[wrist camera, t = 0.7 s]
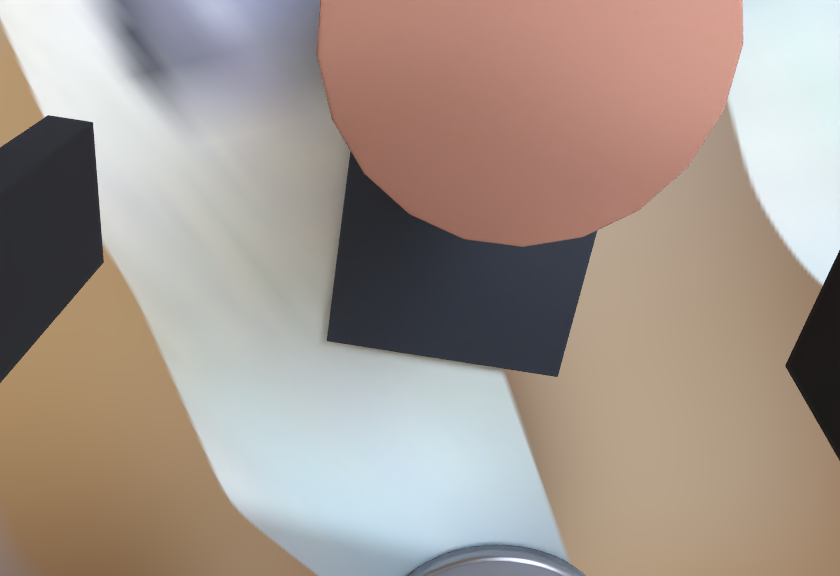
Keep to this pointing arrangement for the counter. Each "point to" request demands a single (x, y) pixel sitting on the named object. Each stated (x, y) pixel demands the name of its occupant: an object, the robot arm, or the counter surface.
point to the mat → (450, 288)
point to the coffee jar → (526, 105)
